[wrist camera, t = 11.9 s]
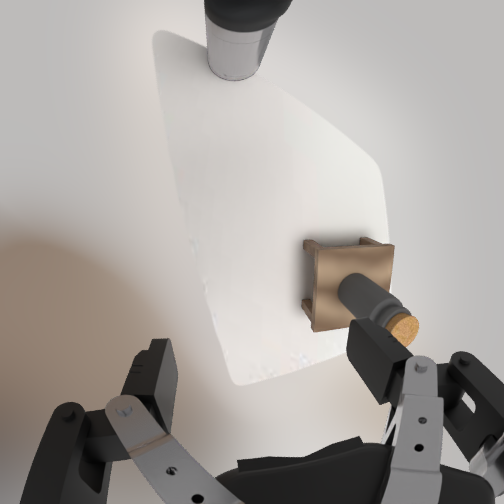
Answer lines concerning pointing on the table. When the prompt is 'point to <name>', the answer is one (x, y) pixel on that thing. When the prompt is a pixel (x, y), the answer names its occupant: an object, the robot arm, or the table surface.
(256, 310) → the table surface
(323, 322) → the wooden bench
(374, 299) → the bottle
